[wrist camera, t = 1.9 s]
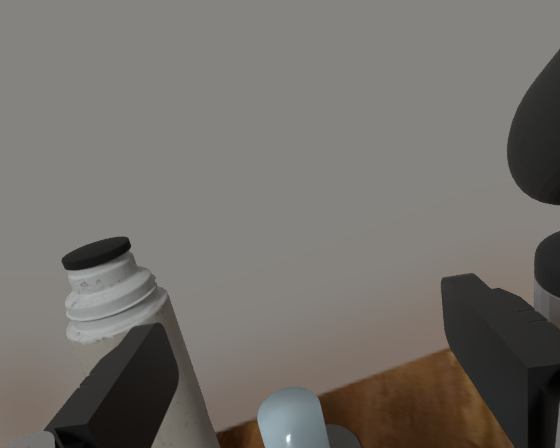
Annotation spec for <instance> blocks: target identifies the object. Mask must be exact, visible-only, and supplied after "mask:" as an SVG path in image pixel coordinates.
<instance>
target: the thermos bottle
mask: <svg viewBox="0 0 560 448" xmlns="http://www.w3.org/2000/svg"><path fill="white" fill-rule="evenodd" d="M130 248H131V244H130V242H129V239H128V238H127V237H114V238H109V239H104V240H100V241H97V242H94V243H91V244H88V245H85V246H83V247H80V248H78V249H76V250H74V251H72V252H70V253H69V254H67V255H65V256H64V257H63V258H62V263H63V265H64V268H65V269H66V270H67V271H68V279H69V282H70V284H71V287H72V289H73V291H72V292H71V293H70V295H69V296H68V297H67V299H66V300H65V306H66V308H67V314H66V315H67V317H68V318H69V319H71V320H72V321H71V322H70V324H69V325H68V327H67V330H66V335H67V338H68V340H69V342H70V344H71V347H72V349H73V351H74V353H75V355H76V358H77V360H78V362H79V364H80V366H81V369H82V371H83V373H84V375H85V378H86V377H87V376H89V373H90V372H91V370H92V369H93V368H94V367H95V365H96V364H97V363H98V362H99V360H100V359H101V358H103V357H104V356H105V355H106V354H108V353H109V352H110V351H111V350H113V349H114V348H115V347H116V346H118V345H119V343H120V342H121V341H122V339H123V338H124V337H125V336H126V334H127V333H128V332H129V330H130V329H131V328H132V327H134V326H139V325H145V324H151V323H157V322H159V323H161V324H162V325H163V326H164V328H165V330H166V333H167V336H168V339H169V342H170V345H171V348H172V350H173V353H174V356H175V359H176V362H177V365H178V369H179V382H178V387H177V390H176V392H175V394H174V397H173V399H172V401H171V403H170V406H169V408H168V410H167V413H166V415H165V417H164V419H163V422H162V424H161V426H160V429H159V431H158V433H157V435H156V438H155V440H154V442H153V445H152V447H151V448H220V445H219V442H218V439H217V437H216V434H215V432H214V429H213V427H212V424H211V422H210V419H209V416H208V413H207V409H206V405H205V402H204V399H203V396H202V392H201V389H200V387H199V384H198V381H197V378H196V375H195V372H194V369H193V366H192V363H191V360H190V357H189V355H188V351H187V348H186V345H185V342H184V340H183V337H182V334H181V331H180V328H179V325H178V322H177V319H176V316H175V313H174V310H173V307H172V304H171V301H170V298H169V295H168V293H167V291H166V290H165V289H163V288H162V287H158V286H157V283H156V282H155V278H156V277H155V276H154V275H152V273H151V272H150V270H149V269H147V268H143V267H139V266H137V264H136V262H135V259H134V256H133V254H132V253H131V252H129V249H130Z"/></svg>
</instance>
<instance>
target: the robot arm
mask: <svg viewBox="0 0 560 448" xmlns="http://www.w3.org/2000/svg"><path fill="white" fill-rule="evenodd" d="M507 158H508V165H509V168H510V172H511V175H512V177H513V179H514V180H515V182H516V184H517V185H518V186H519V187H520V189H521V190H522V191H523V192H524V193H526V194H527V195H528V196H530V197H531V198H533V199H535V200H538V201H540V202H543V203H548V204H553V205H560V49H559V51H558V52H557V53H556V54H555V56H554V57H553V58H552V59H551V60H550V62H549V63H548V64H547V66H546V67H545V68H544V69H543V71H542V72H541V73H540V74H539V76H538V77H537V78H536V79H535V81H534V82H533V84H532V85H531V87H530V88H529V89H528V91H527V92H526V94H525V96H524V97H523V99H522V101H521V103H520V105H519V106H518V108H517V111H516V114H515V116H514V118H513V121H512V125H511V128H510V133H509V137H508V144H507ZM534 275H535V276H534V308H533V307H532V306H531V305H529V304H528V303H527V302H526V301H525V300H523V299H522V298H521V297H519V296H517V295H514V294H512V293H510V292H508V291H505V290H503V289H500V288H496V289H491V288H489V287H488V286H487V285H486V284H485V283H484V282H483V281H482V280H480V279H479V278H478V277H477V276H476V275H475V274H473V273H469V274H462V275H456V276H450V277H444V278H442V281H441V293H442V305H443V318H444V329H445V334H446V338H447V341H448V343H449V346H450V348H451V350H452V352H453V353H454V355H455V357H456V358H457V360H458V361H459V363H460V364H461V366H462V367H463V369H464V370H465V372H466V373H467V375H468V376H469V378H470V380H471V381H472V383H473V384H474V386H475V387H476V389H477V390H478V392H479V393H480V395H481V396H482V398H483V399H484V401H485V402H486V404H487V406H488V407H489V409H490V410H491V412H492V413H493V415H494V416H495V418H496V419H497V421H498V422H499V424H500V425H501V427H502V429H503V430H504V432H505V433H506V435H507V436H508V438H509V439H510V441H511V442H512V444H513V445H514V447H515V448H560V231H559V232H556V233H554V234H552V235H550V236H548V237H547V238H545V239H544V240H543V241H542V242H541V243H540V244H539V246H538V247H537V249H536V252H535V260H534ZM178 382H179V369H178V365H177V362H176V359H175V356H174V353H173V350H172V348H171V345H170V342H169V339H168V336H167V333H166V330H165V328H164V326H163V325H162V324H161V323H159V322H157V323H151V324H145V325H139V326H134V327H132V328H131V329H130V330H129V332H128V333H127V334H126V336H125V337H124V338H123V339H122V341H121V342H120V343H119V345H118V346H116V347H115V348H114V349H113V350H111V351H110V352H109V353H108V354H106V355H105V356H104V357H103V358H101V359H100V360H99V362H98V363H97V364H96V365H95V367H94V368H93V369H92V370H91V372H90V373H89V376H87V377H86V378H85V379H84V380H83V382H82V383H81V384H80V388H77V389H76V391H75V392H74V393H73V394H72V395H71V397H70V398H69V399H68V400H67V402H66V403H65V404H64V405H63V407H62V408H61V409H60V410H59V412H58V413H57V414H56V415H55V417H54V418H53V419H52V420H51V422H50V423H49V424H48V425H47V427H46V428H45V429H44V430H43V431H38V432H34V433H30V434H28V435H25V436H23V437H21V438H19V439H17V440H15V441H13V442H12V443H10V444H8V445H7V446H5V447H4V448H151V447H152V445H153V442H154V440H155V438H156V435H157V433H158V431H159V429H160V426H161V424H162V422H163V419H164V417H165V415H166V413H167V410H168V408H169V406H170V403H171V401H172V399H173V397H174V394H175V392H176V390H177V387H178Z"/></svg>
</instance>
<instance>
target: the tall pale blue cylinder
mask: <svg viewBox="0 0 560 448" xmlns="http://www.w3.org/2000/svg"><path fill="white" fill-rule="evenodd" d="M257 419H258V425H259V428H260V431H261V435H262V438H263V442H264V445H265V448H330V445H329V441H328V436H327V432H326V427H325V423H324V418H323V413H322V409H321V404H320V401H319V399H318V397H317V396H316V395H315V394H314V393H313V392H312V391H310V390H308V389H305V388H302V387H287V388H283V389H281V390H278V391H276V392H274V393H273V394H271V395H270V396H269V397H267V399H265V401H264V402H263V403H262V405H261V407H260V409H259V411H258V418H257Z"/></svg>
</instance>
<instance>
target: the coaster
mask: <svg viewBox="0 0 560 448" xmlns="http://www.w3.org/2000/svg"><path fill="white" fill-rule="evenodd" d="M325 427H326V432H327V436H328V441H329V445H330V448H361V445H360V443H359V441H358V439H357V437H356V436H355V435H354V434H353V433H352V432H351V431H350V430H348V429H347V428H345V427H343V426H340V425H336V424H325Z"/></svg>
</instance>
